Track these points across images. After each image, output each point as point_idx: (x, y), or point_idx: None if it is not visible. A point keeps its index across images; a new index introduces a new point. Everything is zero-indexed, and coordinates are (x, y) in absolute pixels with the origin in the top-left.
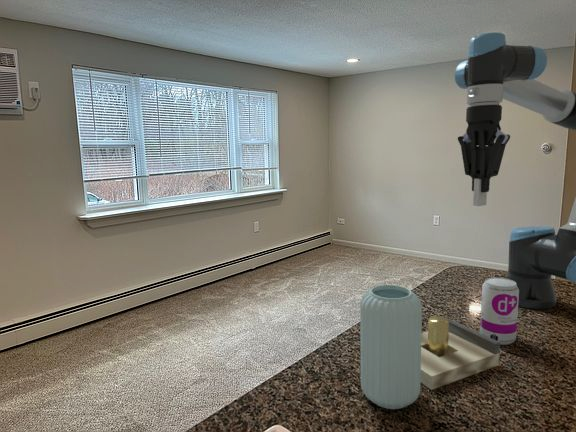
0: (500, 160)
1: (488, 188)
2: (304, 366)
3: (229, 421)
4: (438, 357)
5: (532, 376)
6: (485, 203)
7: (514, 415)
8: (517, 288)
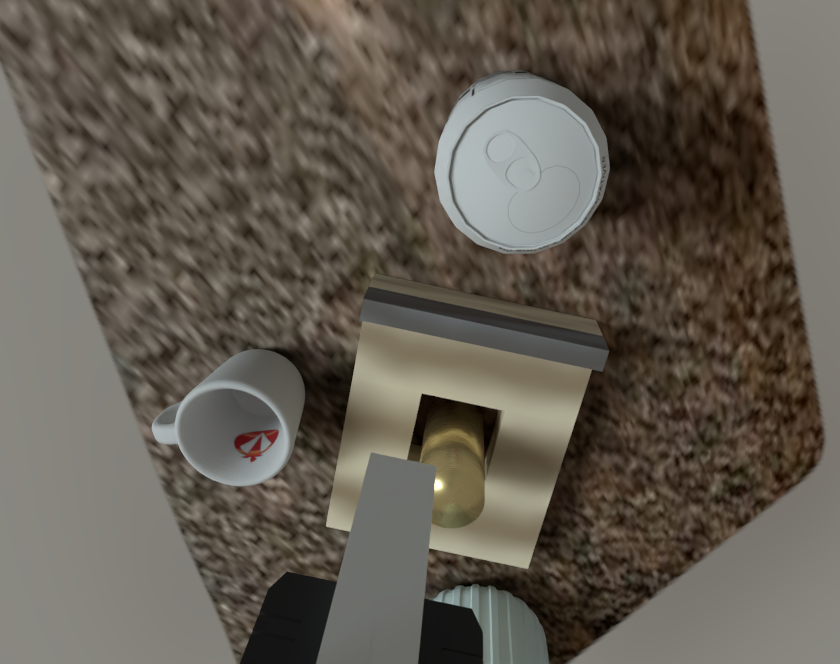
0: None
1: (479, 660)
2: None
3: None
4: (485, 484)
5: (694, 309)
6: (431, 485)
7: (714, 503)
8: (603, 151)
